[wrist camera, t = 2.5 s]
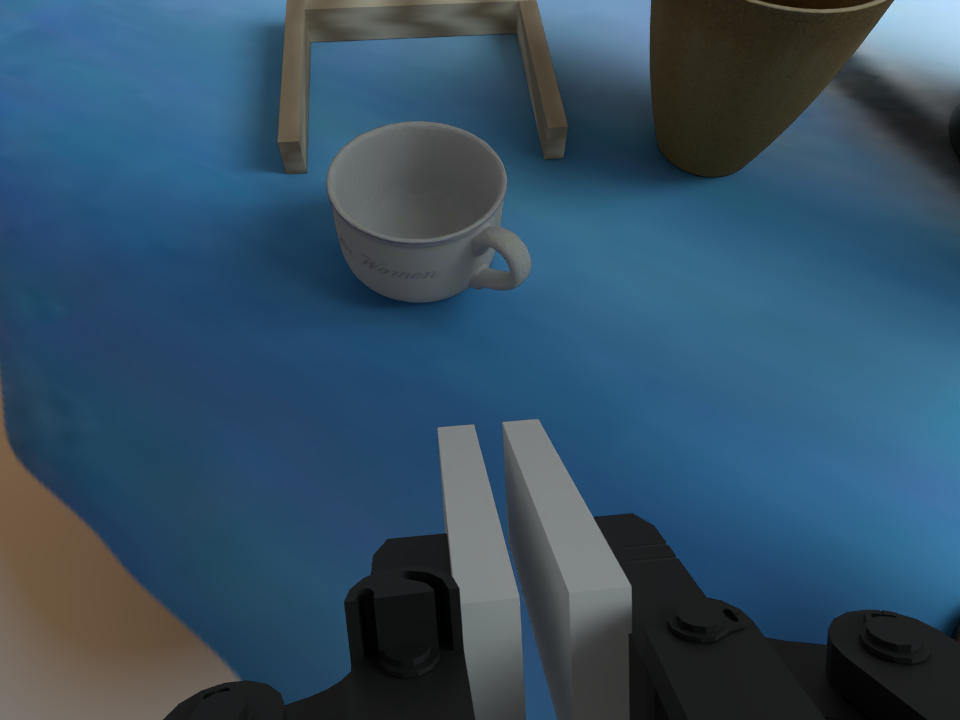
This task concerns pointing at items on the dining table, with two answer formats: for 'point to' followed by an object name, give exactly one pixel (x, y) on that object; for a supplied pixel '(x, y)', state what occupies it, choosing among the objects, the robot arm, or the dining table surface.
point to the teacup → (423, 212)
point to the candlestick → (956, 633)
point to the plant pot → (744, 71)
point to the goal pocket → (412, 14)
